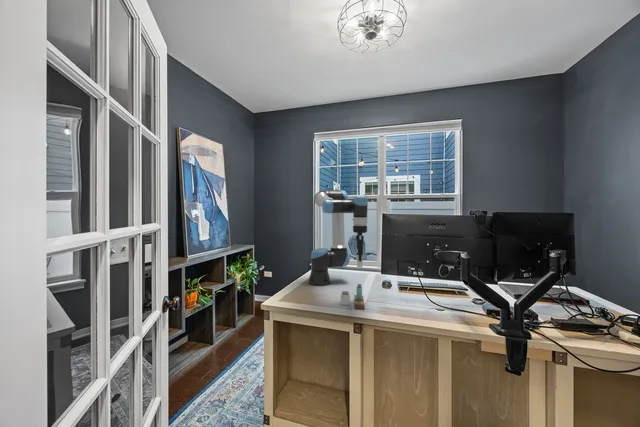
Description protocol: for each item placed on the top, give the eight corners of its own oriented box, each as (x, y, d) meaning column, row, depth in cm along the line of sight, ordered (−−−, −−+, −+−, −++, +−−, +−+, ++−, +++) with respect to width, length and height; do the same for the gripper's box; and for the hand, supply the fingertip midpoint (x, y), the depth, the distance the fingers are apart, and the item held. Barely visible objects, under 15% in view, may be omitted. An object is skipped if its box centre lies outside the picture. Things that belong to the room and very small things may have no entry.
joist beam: (354, 299, 153) (354, 295, 153) (363, 299, 153) (363, 295, 153) (354, 309, 140) (354, 304, 139) (364, 309, 139) (364, 304, 139)
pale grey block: (340, 301, 151) (340, 290, 151) (349, 301, 150) (349, 291, 150) (340, 304, 146) (340, 293, 146) (349, 305, 145) (349, 294, 145)
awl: (356, 298, 147) (356, 283, 147) (362, 299, 147) (362, 283, 147) (356, 300, 145) (356, 285, 144) (361, 301, 144) (362, 285, 144)
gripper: (352, 222, 157) (352, 258, 158) (353, 227, 132) (352, 269, 134) (365, 223, 156) (365, 259, 157) (368, 227, 132) (367, 270, 133)
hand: (359, 264), depth 146 cm, fingers open, 13 cm apart
